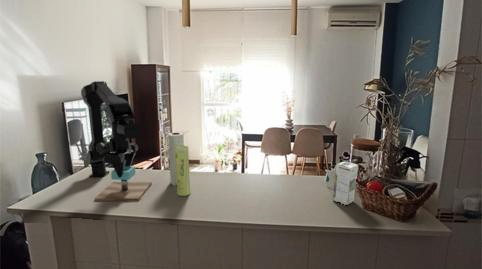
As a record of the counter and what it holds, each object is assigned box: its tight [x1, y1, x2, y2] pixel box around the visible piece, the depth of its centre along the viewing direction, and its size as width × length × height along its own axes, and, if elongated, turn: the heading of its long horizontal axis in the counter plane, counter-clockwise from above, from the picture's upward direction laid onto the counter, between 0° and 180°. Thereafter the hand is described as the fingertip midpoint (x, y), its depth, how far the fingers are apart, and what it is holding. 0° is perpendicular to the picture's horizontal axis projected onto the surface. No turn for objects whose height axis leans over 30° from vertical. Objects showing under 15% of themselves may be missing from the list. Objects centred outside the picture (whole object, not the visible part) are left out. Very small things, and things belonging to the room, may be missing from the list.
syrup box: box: [332, 161, 359, 204], centre depth 107 cm, size 6×6×14 cm
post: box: [120, 180, 129, 191], centre depth 114 cm, size 2×2×5 cm
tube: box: [175, 144, 191, 197], centre depth 112 cm, size 6×5×20 cm
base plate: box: [94, 181, 153, 202], centre depth 115 cm, size 16×16×1 cm
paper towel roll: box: [168, 131, 185, 187], centre depth 123 cm, size 7×6×21 cm
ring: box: [110, 165, 136, 181], centre depth 113 cm, size 7×7×3 cm
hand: (123, 173), depth 113 cm, fingers closed on ring, 7 cm apart
